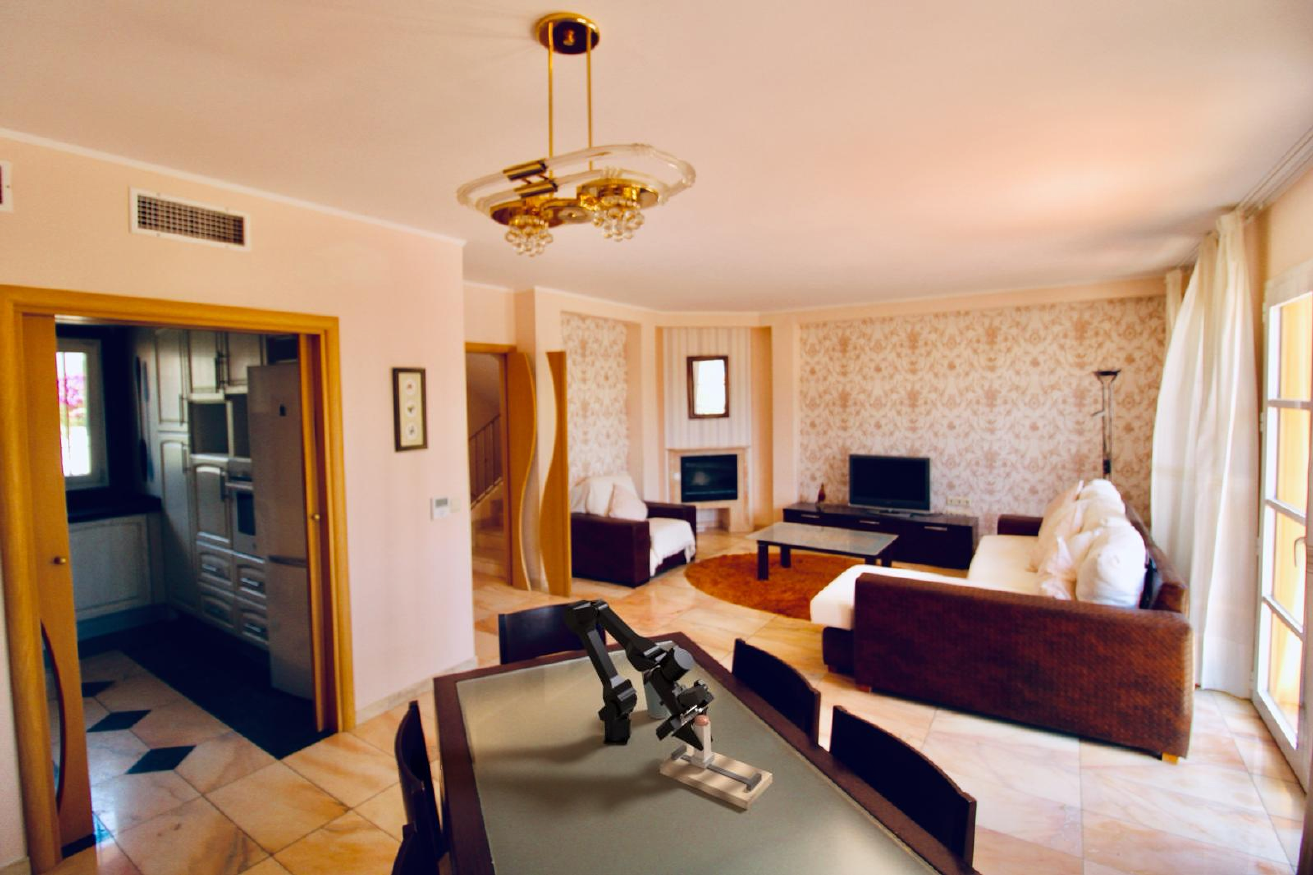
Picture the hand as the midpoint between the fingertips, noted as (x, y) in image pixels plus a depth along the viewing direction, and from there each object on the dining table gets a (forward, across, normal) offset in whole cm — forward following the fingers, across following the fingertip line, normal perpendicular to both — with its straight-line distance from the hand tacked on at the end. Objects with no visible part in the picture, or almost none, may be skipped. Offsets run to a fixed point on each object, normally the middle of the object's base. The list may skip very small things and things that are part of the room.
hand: (707, 746), depth 149 cm
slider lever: (+2, 0, +4) cm, 5 cm away
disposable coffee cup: (-14, +17, +24) cm, 33 cm away
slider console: (+6, 0, +4) cm, 7 cm away
